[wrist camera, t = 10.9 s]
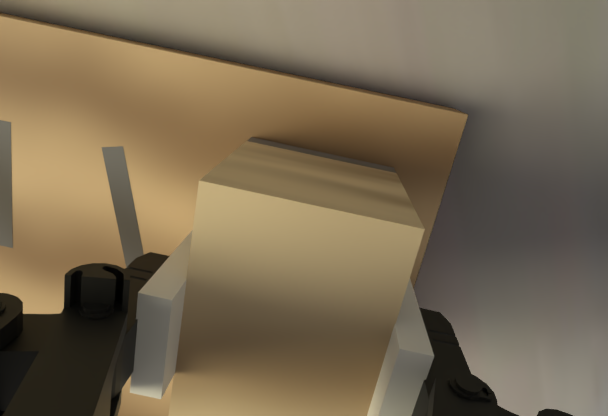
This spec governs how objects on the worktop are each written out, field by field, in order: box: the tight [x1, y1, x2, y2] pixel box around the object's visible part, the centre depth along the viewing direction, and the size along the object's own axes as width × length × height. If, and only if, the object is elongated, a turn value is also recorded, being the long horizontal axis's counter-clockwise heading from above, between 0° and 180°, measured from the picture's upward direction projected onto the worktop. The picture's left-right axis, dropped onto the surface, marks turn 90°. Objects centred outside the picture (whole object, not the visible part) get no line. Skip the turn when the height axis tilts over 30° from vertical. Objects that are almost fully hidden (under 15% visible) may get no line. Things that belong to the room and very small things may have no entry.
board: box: [0, 13, 468, 416], centre depth 18 cm, size 16×24×2 cm, turn 79°
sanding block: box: [168, 137, 425, 416], centre depth 14 cm, size 8×5×6 cm, turn 169°
